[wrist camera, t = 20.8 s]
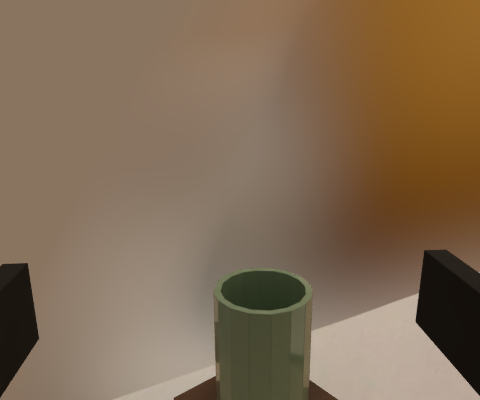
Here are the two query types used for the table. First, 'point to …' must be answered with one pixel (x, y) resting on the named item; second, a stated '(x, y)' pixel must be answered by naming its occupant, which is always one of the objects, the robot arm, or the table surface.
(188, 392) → the block
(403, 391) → the table surface
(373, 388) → the table surface
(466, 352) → the robot arm
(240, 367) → the cup
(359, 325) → the table surface
